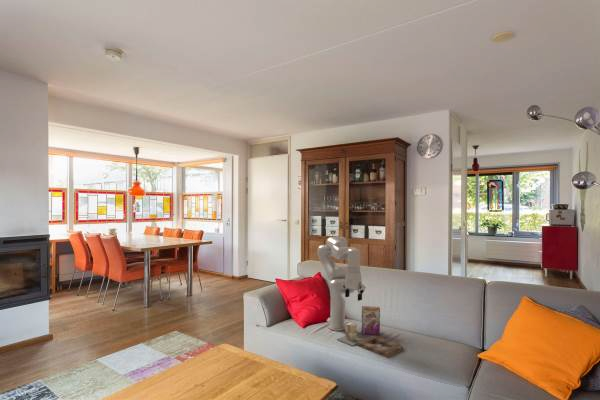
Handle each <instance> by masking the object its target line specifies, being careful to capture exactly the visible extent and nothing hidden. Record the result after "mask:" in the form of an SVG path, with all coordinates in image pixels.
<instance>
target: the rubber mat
mask: <svg viewBox="0 0 600 400" xmlns="http://www.w3.org/2000/svg"><path fill="white" fill-rule="evenodd" d="M364 339H365V338H364ZM364 339H363V338H361V337H358V336H356V340H354V341H352V342H351V341H348V340H346V335H344V336H340V337H339V338H336V341H338V342H341V343H344V344H345V345H348V346H350V347H354V346H357V342H359V341H361V340H364Z"/></svg>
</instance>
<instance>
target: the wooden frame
mask: <svg viewBox="0 0 600 400" xmlns="http://www.w3.org/2000/svg"><path fill="white" fill-rule="evenodd" d="M373 342H374V343H375V342H376V343H375V344H373ZM371 343H372V344H371ZM376 344H378V345H376ZM380 344H381V345H380ZM379 345H380V346H379ZM356 346H357V347H360V348H362V349H364V350H367V351H369V352H371V353H375V354H378V355H380V356H382V357H384V358H389V357H390V356H393V355H395V354H397V353H399V352H401V351H404V345H402V344H399V343H396V342H394V341H391V340H388V339H385V338H382V337H380V336H376V335H372V336H369V337H367V338H364V340H361V341H359V342H357V345H356ZM381 346H383V347H386V348H383V347H381ZM388 347H389V348H388Z"/></svg>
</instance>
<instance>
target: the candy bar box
mask: <svg viewBox="0 0 600 400" xmlns="http://www.w3.org/2000/svg"><path fill="white" fill-rule="evenodd" d="M380 327H381V308H380V307H379V306H370V305H368V306H367V305H362V306H361V327H360V328H361V334H364V335H376V334H380V331H381V330H380Z"/></svg>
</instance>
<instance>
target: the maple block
mask: <svg viewBox="0 0 600 400" xmlns="http://www.w3.org/2000/svg"><path fill="white" fill-rule="evenodd" d="M345 325H346V330H345V336H346V340H348V341H351V342H352V341H354V340H356V337H357V324H356V323H353V322H348V323H345Z"/></svg>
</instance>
